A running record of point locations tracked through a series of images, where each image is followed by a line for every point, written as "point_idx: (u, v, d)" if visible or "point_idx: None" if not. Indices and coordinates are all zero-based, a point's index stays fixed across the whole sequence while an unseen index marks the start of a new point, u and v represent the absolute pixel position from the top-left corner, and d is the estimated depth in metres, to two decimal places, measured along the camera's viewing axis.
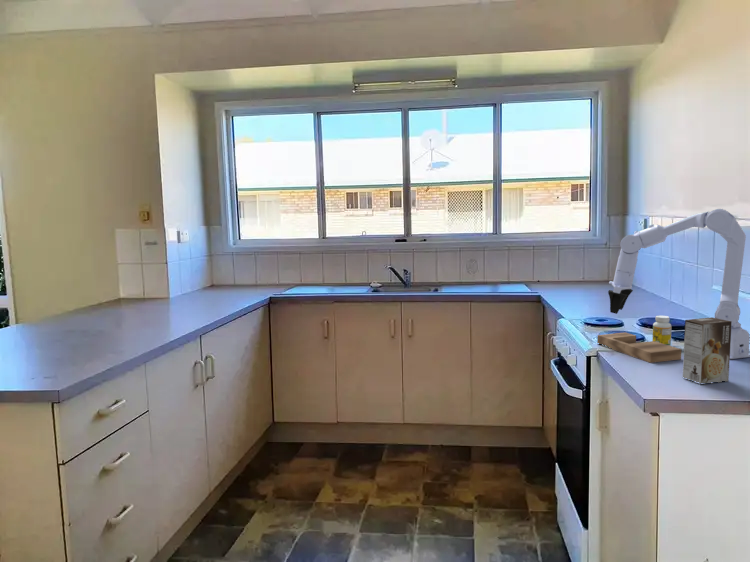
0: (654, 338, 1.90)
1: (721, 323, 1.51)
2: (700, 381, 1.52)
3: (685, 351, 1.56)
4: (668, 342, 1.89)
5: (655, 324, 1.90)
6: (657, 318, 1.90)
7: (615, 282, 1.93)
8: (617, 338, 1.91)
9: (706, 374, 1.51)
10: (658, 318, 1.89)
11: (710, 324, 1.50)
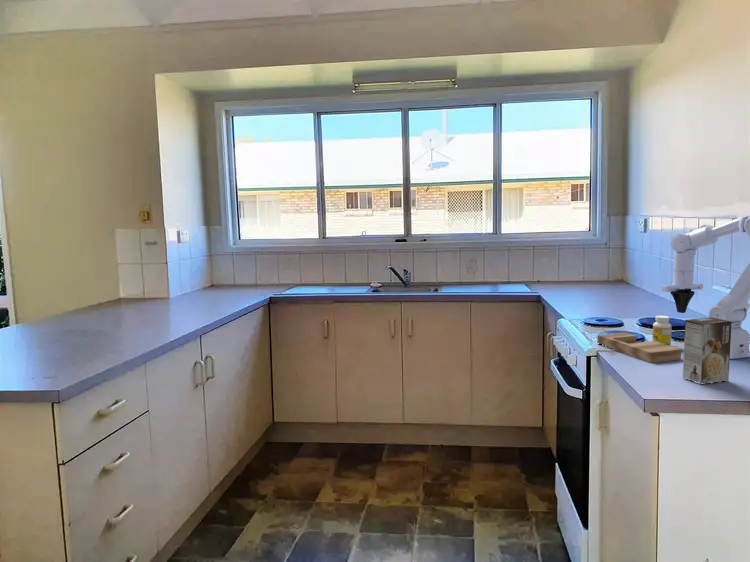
0: (654, 338, 1.90)
1: (721, 323, 1.51)
2: (700, 381, 1.52)
3: (685, 351, 1.56)
4: (668, 342, 1.89)
5: (655, 324, 1.90)
6: (657, 318, 1.90)
7: (673, 282, 1.92)
8: (617, 338, 1.91)
9: (706, 374, 1.51)
10: (658, 318, 1.89)
11: (710, 324, 1.50)
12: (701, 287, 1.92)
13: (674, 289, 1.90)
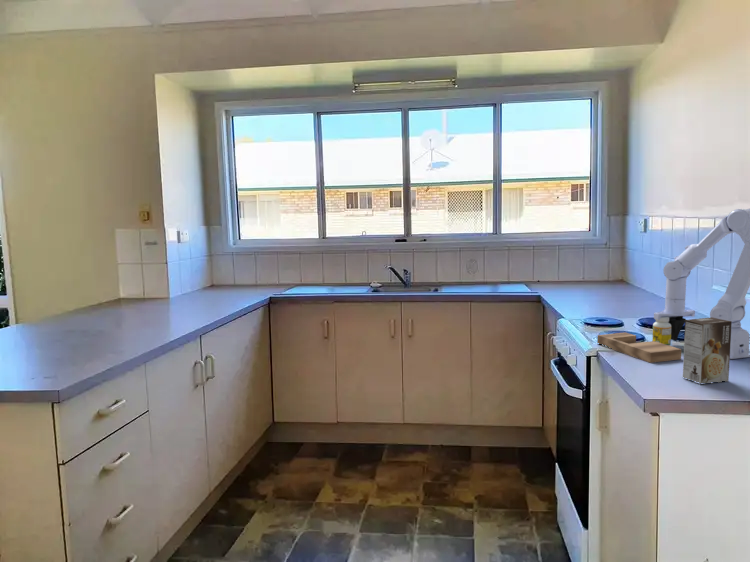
0: (654, 338, 1.90)
1: (721, 323, 1.51)
2: (700, 381, 1.52)
3: (685, 351, 1.56)
4: (668, 342, 1.89)
5: (655, 324, 1.90)
6: None
7: (665, 309, 1.92)
8: (617, 338, 1.91)
9: (706, 374, 1.51)
10: None
11: (710, 324, 1.50)
12: (693, 314, 1.92)
13: None
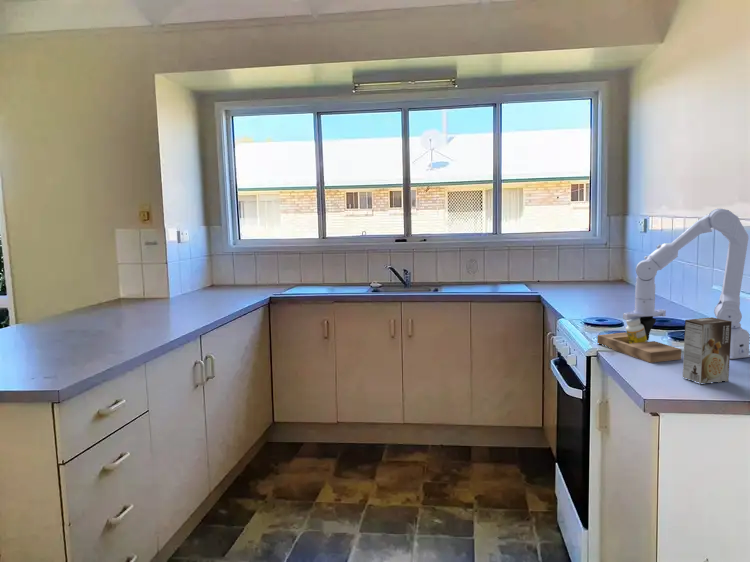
0: (630, 342, 1.88)
1: (721, 323, 1.51)
2: (700, 381, 1.52)
3: (685, 351, 1.56)
4: None
5: (628, 329, 1.87)
6: (628, 323, 1.86)
7: (634, 310, 1.89)
8: (617, 338, 1.91)
9: (706, 374, 1.51)
10: (629, 323, 1.86)
11: (710, 324, 1.50)
12: (664, 314, 1.89)
13: (635, 317, 1.87)
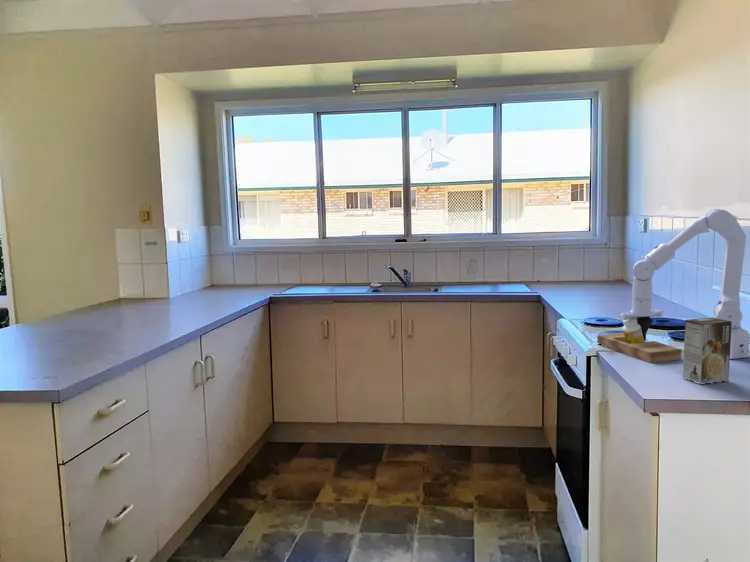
0: None
1: (721, 323, 1.51)
2: (700, 381, 1.52)
3: (685, 351, 1.56)
4: None
5: (624, 329, 1.87)
6: (625, 323, 1.86)
7: (631, 310, 1.89)
8: (617, 338, 1.91)
9: (706, 374, 1.51)
10: (626, 323, 1.86)
11: (710, 324, 1.50)
12: (661, 314, 1.89)
13: (632, 317, 1.87)
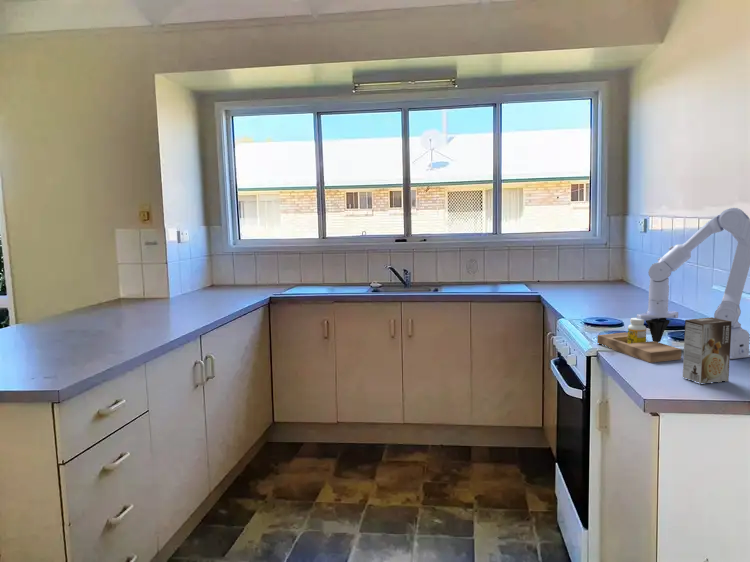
0: (629, 341, 1.87)
1: (721, 323, 1.51)
2: (700, 381, 1.52)
3: (685, 351, 1.56)
4: None
5: (630, 327, 1.87)
6: (632, 320, 1.87)
7: (648, 311, 1.90)
8: (617, 338, 1.91)
9: (706, 374, 1.51)
10: (633, 320, 1.86)
11: (710, 324, 1.50)
12: (676, 316, 1.90)
13: (649, 318, 1.88)
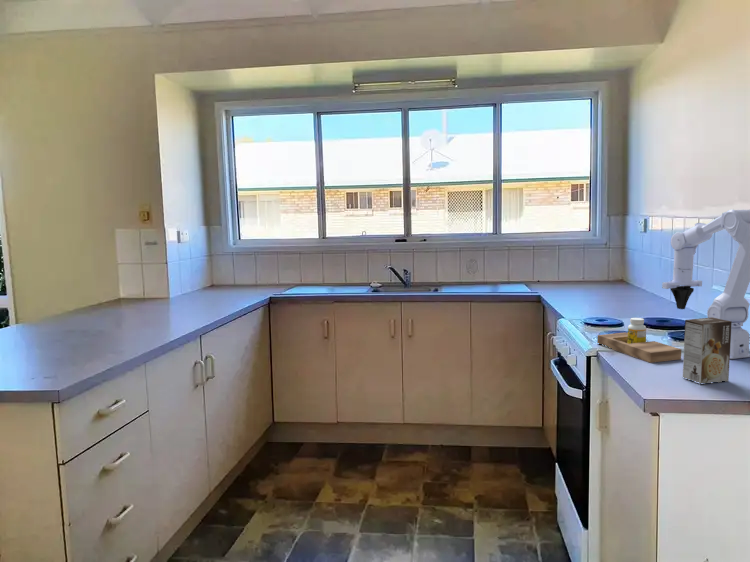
0: (629, 341, 1.88)
1: (721, 323, 1.51)
2: (700, 381, 1.52)
3: (685, 351, 1.56)
4: None
5: (630, 326, 1.87)
6: (632, 320, 1.87)
7: (673, 280, 1.98)
8: (617, 338, 1.91)
9: (706, 374, 1.51)
10: (633, 320, 1.86)
11: (710, 324, 1.50)
12: (700, 284, 1.98)
13: (674, 286, 1.96)
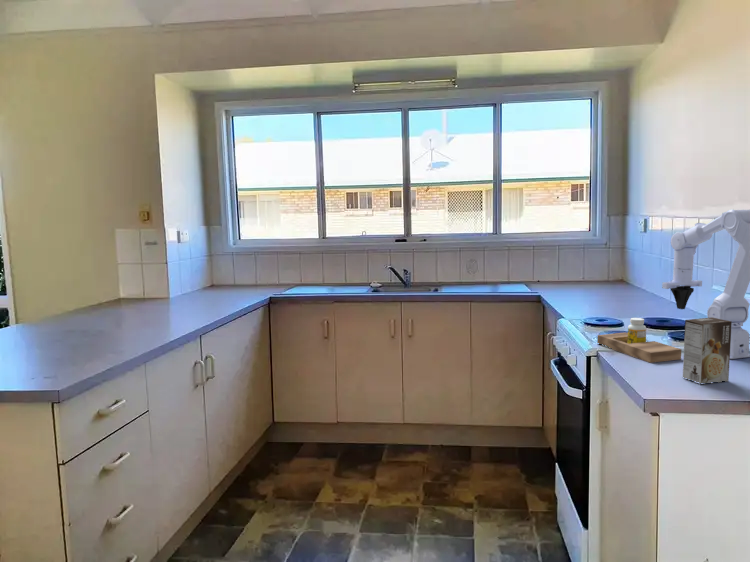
0: (629, 341, 1.88)
1: (721, 323, 1.51)
2: (700, 381, 1.52)
3: (685, 351, 1.56)
4: None
5: (630, 327, 1.87)
6: (632, 320, 1.87)
7: (673, 280, 1.98)
8: (617, 338, 1.91)
9: (706, 374, 1.51)
10: (633, 320, 1.86)
11: (710, 324, 1.50)
12: (700, 284, 1.98)
13: (674, 286, 1.96)
